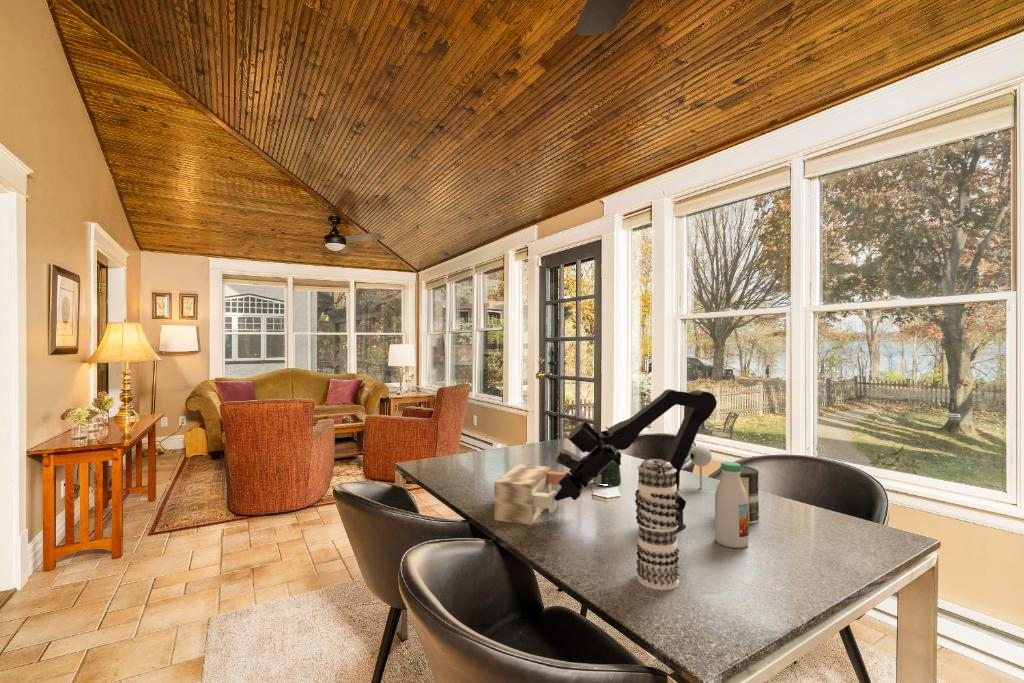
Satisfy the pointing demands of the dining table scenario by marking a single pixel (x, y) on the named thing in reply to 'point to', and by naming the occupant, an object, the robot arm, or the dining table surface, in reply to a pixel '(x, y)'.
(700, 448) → the lollipop
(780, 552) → the dining table surface
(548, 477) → the terracotta plug
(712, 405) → the robot arm
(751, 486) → the coffee can
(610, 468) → the coffee jar
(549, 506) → the cream plug
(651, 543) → the decorative candle
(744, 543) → the milk bottle
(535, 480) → the socket block
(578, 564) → the dining table surface
